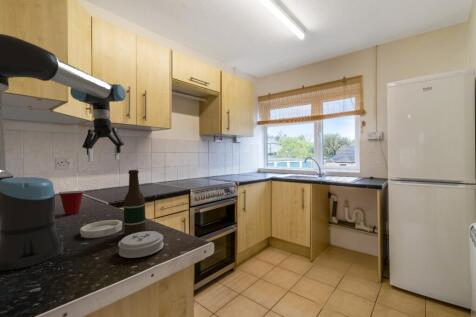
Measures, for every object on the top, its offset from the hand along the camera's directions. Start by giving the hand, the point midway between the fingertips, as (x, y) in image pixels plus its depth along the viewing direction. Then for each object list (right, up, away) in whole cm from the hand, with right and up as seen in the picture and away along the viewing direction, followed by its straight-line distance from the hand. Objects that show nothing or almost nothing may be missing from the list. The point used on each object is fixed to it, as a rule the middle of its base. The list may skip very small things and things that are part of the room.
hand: (104, 160), depth 112 cm
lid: (+39, -28, -44) cm, 65 cm away
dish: (+15, -28, -26) cm, 41 cm away
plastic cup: (-18, -28, +3) cm, 34 cm away
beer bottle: (+30, -27, -29) cm, 50 cm away
